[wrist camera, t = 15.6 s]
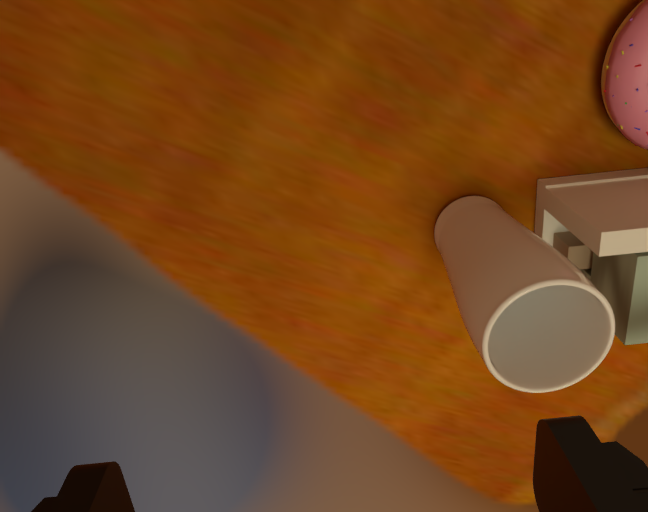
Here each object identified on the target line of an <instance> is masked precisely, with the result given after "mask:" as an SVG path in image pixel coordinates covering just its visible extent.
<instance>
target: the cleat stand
mask: <svg viewBox="0 0 648 512" xmlns="http://www.w3.org/2000/svg"><path fill="white" fill-rule="evenodd" d="M534 233H535V234H536V235H538V236H539V237H540V238H542V239H543V240H544V241H546V242H547V243H549V244H550V245H551V246H553V247H554V248H555V249H557V250H558V251H559V252H561V253H562V254H563V255H564V256H566V257H567V258H568V259H569V260H570V261H571V262H572V263H573V264H575V265H576V266H577V267H578V268H579V269H590V268H592V261H593V252H594V253H595V254H596V255H597V256H599V257H601V256H611V255H621V254H630V253H640V252H648V168H640V169H630V170H621V171H611V172H602V173H592V174H583V175H573V176H564V177H554V178H545V179H538V180H537V197H536V213H535V229H534Z"/></svg>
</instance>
